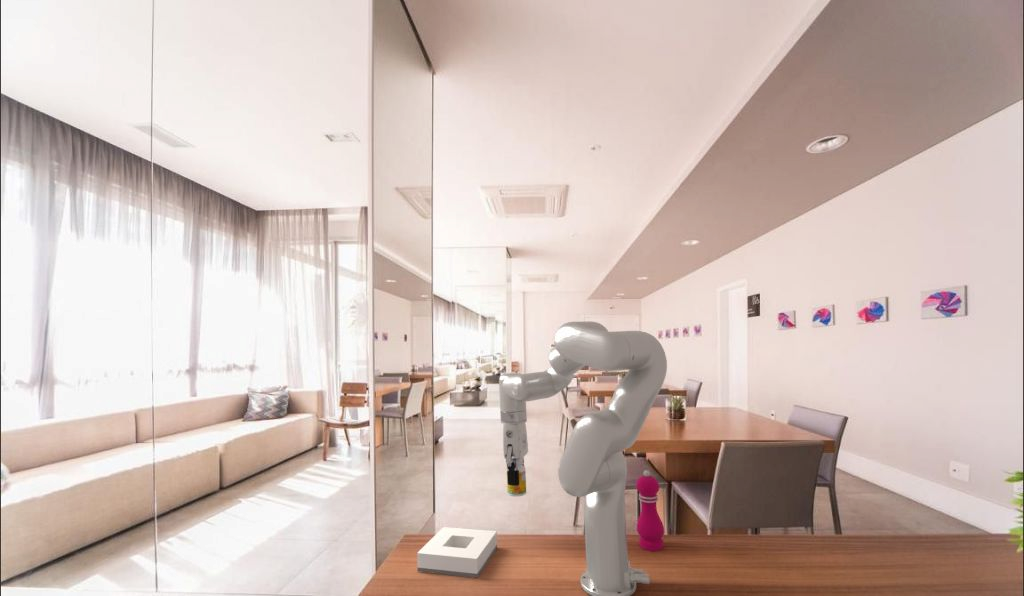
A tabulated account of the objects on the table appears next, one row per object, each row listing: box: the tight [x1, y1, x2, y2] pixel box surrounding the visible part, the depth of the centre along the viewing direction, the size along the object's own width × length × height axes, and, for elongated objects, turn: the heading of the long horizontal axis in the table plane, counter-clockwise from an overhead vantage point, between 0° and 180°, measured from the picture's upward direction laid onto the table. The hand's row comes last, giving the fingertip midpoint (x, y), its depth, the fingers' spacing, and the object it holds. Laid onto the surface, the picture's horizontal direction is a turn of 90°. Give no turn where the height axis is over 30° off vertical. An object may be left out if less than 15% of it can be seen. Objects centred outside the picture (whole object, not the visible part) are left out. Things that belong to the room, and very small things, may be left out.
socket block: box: [416, 526, 498, 579], centre depth 121 cm, size 16×16×4 cm
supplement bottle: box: [506, 457, 527, 497], centre depth 130 cm, size 5×5×10 cm
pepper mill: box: [635, 469, 665, 552], centre depth 125 cm, size 7×7×20 cm
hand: (516, 480), depth 130 cm, fingers closed on supplement bottle, 5 cm apart
